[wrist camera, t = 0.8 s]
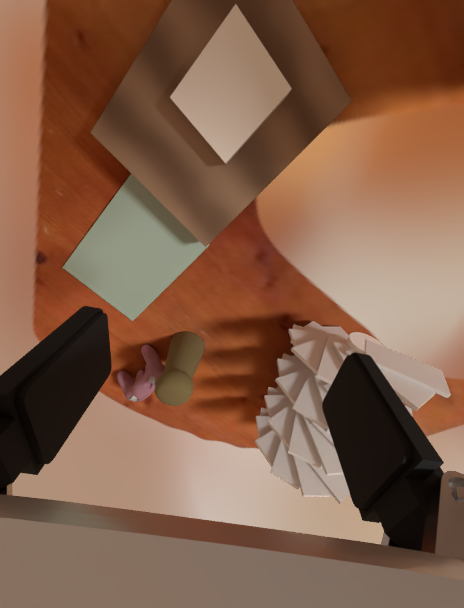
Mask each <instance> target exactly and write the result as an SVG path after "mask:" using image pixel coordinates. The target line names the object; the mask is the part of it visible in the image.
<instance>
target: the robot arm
mask: <svg viewBox="0 0 464 608" xmlns="http://www.w3.org/2000/svg"><path fill="white" fill-rule="evenodd" d="M110 372H111V354H110V342H109V330H108V319H107V314H105V313H103V311H102V309H100V308H94V307H88V306H84V307H82V308H81V309H80V310H78V311H77V312H76V313H75V314H74V315H72V316H71V317H70V318H69V319H68V320H66V321H65V322H64V323H63V324H62V325H60V326H59V327H58V328H57V329H56V330H54V331H53V332H52V333H51V334H50V335H48V336H47V337H46V338H45V339H44V340H42V341H41V342H40V343H39V344H38V345H37V346H35V347H34V348H33V349H32V350H31V351H29V352H28V353H27V354H26V355H25V356H23V357H22V358H21V359H20V360H19V361H17V362H16V363H15V364H14V365H13V366H11V367H10V368H9V369H8V370H7V371H5V372H4V373H3V374H2V375H1V376H0V608H464V474H461V473H458V472H456V471H447V472H446V473H443V471H442V470H441V468H440V466H441V465H442V464H443V463H444V462H443V461H442V459H441V458H440V456H439V455H438V453H437V452H436V451H435V449H434V448H433V446H432V445H431V443H430V442H429V440H428V439H427V437H426V436H425V434H424V433H423V432H422V430H421V429H420V427H419V426H418V424H417V423H416V421H415V420H414V418H413V417H412V415H411V414H410V413H409V411H408V410H407V408H406V407H405V405H404V404H403V402H402V401H401V399H400V398H399V396H398V395H397V394H396V392H395V391H394V389H393V388H392V386H391V385H390V383H389V382H388V380H387V379H386V377H385V376H384V375H383V373H382V372H381V370H380V369H379V367H378V366H377V364H376V363H375V361H374V360H373V358H372V357H371V356H370V355H367V354H361V353H355V352H354V353H352V354H351V355H348V356H346V358H345V360H344V362H343V364H342V365H341V367H340V369H339V371H338V373H337V375H336V377H335V379H334V381H333V383H332V384H331V386H330V388H329V390H328V392H327V394H326V396H325V398H324V400H323V403H322V409H323V413H324V416H325V419H326V422H327V425H328V428H329V431H330V434H331V437H332V440H333V443H334V446H335V449H336V452H337V455H338V458H339V462H340V465H341V468H342V471H343V474H344V477H345V480H346V483H347V486H348V489H349V492H350V495H351V498H352V501H353V503H354V505H355V506H356V507H357V508H359V511H360V514H361V517H362V520H364V521H370V522H377V523H379V522H381V524H382V527H383V529H384V534H383V538H382V542H381V545H379V544H373V543H366V542H360V541H352V540H345V539H338V538H331V537H324V536H317V535H310V534H302V533H296V532H289V531H282V530H275V529H267V528H260V527H253V526H245V525H238V524H231V523H223V522H215V521H209V520H201V519H194V518H186V517H179V516H172V515H165V514H157V513H149V512H141V511H133V510H126V509H118V508H110V507H103V506H96V505H88V504H80V503H73V502H65V501H56V500H47V499H38V498H29V497H20V496H12V483H13V482H14V481H15V479H16V478H17V477H18V475H19V474H20V473H27V474H34V475H38V473H39V472H40V470H41V469H42V467H43V466H44V464H49V463H50V462H51V461H52V460H53V459H54V458H55V456H56V454H57V453H58V452H59V450H60V448H61V447H62V445H63V444H64V442H65V441H66V440H67V438H68V436H69V435H70V433H71V432H72V430H73V429H74V427H75V426H76V424H77V423H78V421H79V420H80V418H81V417H82V415H83V414H84V412H85V411H86V409H87V408H88V406H89V405H90V403H91V402H92V400H93V399H94V397H95V396H96V394H97V393H98V391H99V390H100V388H101V387H102V385H103V384H104V382H105V381H106V379H107V378H108V376H109V374H110Z"/></svg>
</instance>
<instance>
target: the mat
mask: <svg viewBox="0 0 464 608" xmlns="http://www.w3.org/2000/svg"><path fill="white" fill-rule="evenodd" d="M208 246H209V244H208V245H207V246H206V247H205V246H204V245H203V244H202V243H201V242H200V241H199V240H198V239H197V238H196V237H195V236H194V235H193V234H192V233H191V232H190V231H189V230H188V229H187V228H186V227H185V226H184V225H183V224H182V223H181V222H180V221H179V220H178V219H177V218H176V217H175V216H174V215H173V214H172V213H171V212H170V211H169V210H168V209H167V208H166V207H165V206H164V205H163V204H162V203H161V202H160V201H159V200H158V199H156V198H155V197H154V196H153V195H152V194H151V193H150V192H149V191H148V190H147V189H146V188H145V187H144V186H143V185H142V184H141V183H140V182H139V181H138V180H137V179H136V178H135V177H134V176H133V175H132V174H130V176H129V177H128V179H127V180H126V181H125V183H124V184H123V185H122V187H121V188H120V189H119V191H118V192H117V194H116V195H115V196H114V198H113V199H112V200H111V202H110V203H109V204H108V206H107V207H106V209H105V210H104V211H103V213H102V214H101V215H100V217H99V218H98V219H97V221H96V222H95V224H94V225H93V226H92V228H91V229H90V230H89V232H88V233H87V235H86V236H85V237H84V239H83V240H82V241H81V243H80V244H79V245H78V247H77V248H76V250H75V251H74V252H73V254H72V255H71V256H70V258H69V259H68V260H67V262H66V263H65V265H64V266H63V267H62V268H63V269H65V270H66V271H67V272H69V273H70V274H71V275H73V276H74V277H75V278H77V279H78V280H79V281H81V282H82V283H83V284H85V285H86V286H87V287H88V288H90V289H91V290H92V291H94V292H95V293H96V294H98V295H99V296H100V297H102V298H103V299H104V300H106V301H107V302H108V303H110V304H111V305H112V306H113V307H115V308H116V309H117V310H119V311H120V312H121V313H123V314H124V315H125V316H127V317H128V318H129V319H131V320H132V321H133V320H134V319H135V318H136V317H138V316H139V315H140V314H141V313H142V312H143V311H144V310H145V309H146V308H147V307H148V306H149V305H150V304H151V303H152V302H153V301H154V300H155V299H156V298H157V297H158V296H159V295H160V294H161V293H162V292H163V291H164V290H165V289H166V288H167V287H168V286H169V285H170V284H171V283H172V282H173V281H174V280H175V279H176V278H177V277H178V276H179V275H180V274H181V273H182V272H183V271H184V270H185V269H186V268H187V267H188V266H189V265H190V264H191V263H192V262H193V261H194V260H195V259H196V258H197V257H198V256H199V255H200V254H201V253H202V252H203V251H204V250H205V249H206V248H207V247H208Z"/></svg>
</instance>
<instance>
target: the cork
mask: <svg viewBox="0 0 464 608" xmlns="http://www.w3.org/2000/svg"><path fill="white" fill-rule="evenodd" d="M204 349H205V345H204V341H203V340H202V339H201V337H199V336H198V335H197V334H194V333H192V332H186V331H185V332H179V333H177V334H175V335H174V336H173V337H172V339H171V341H170V345H169V350H168V355H167V359H166V364H165V369H164V372H163V373H162V374H161V375H160V376H159V377H158V379H157V382H156V384H155V393H156V396H157V398H158V399H159V400H160V401H161V402H163V403H164V404H167V405H171V406H178V405H182V404H184V403H185V402H186V401H188V400H189V398H190V396H191V395H192V392H193V381H192V378H193V376H194V373H195V371H196V369H197V366H198V364H199V362H200V359H201V357H202V355H203V352H204Z"/></svg>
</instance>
